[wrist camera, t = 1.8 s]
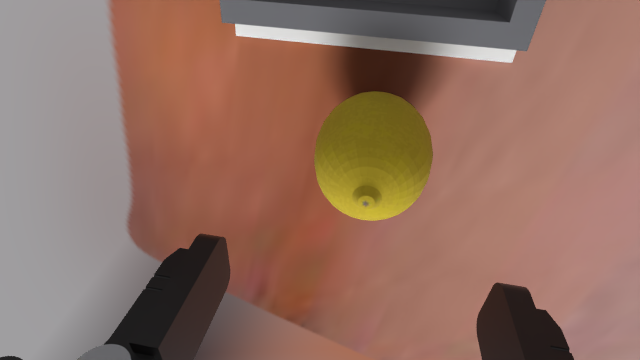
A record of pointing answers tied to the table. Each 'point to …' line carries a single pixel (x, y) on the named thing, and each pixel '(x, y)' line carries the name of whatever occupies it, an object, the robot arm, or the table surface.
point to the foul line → (377, 43)
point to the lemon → (373, 156)
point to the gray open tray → (399, 19)
